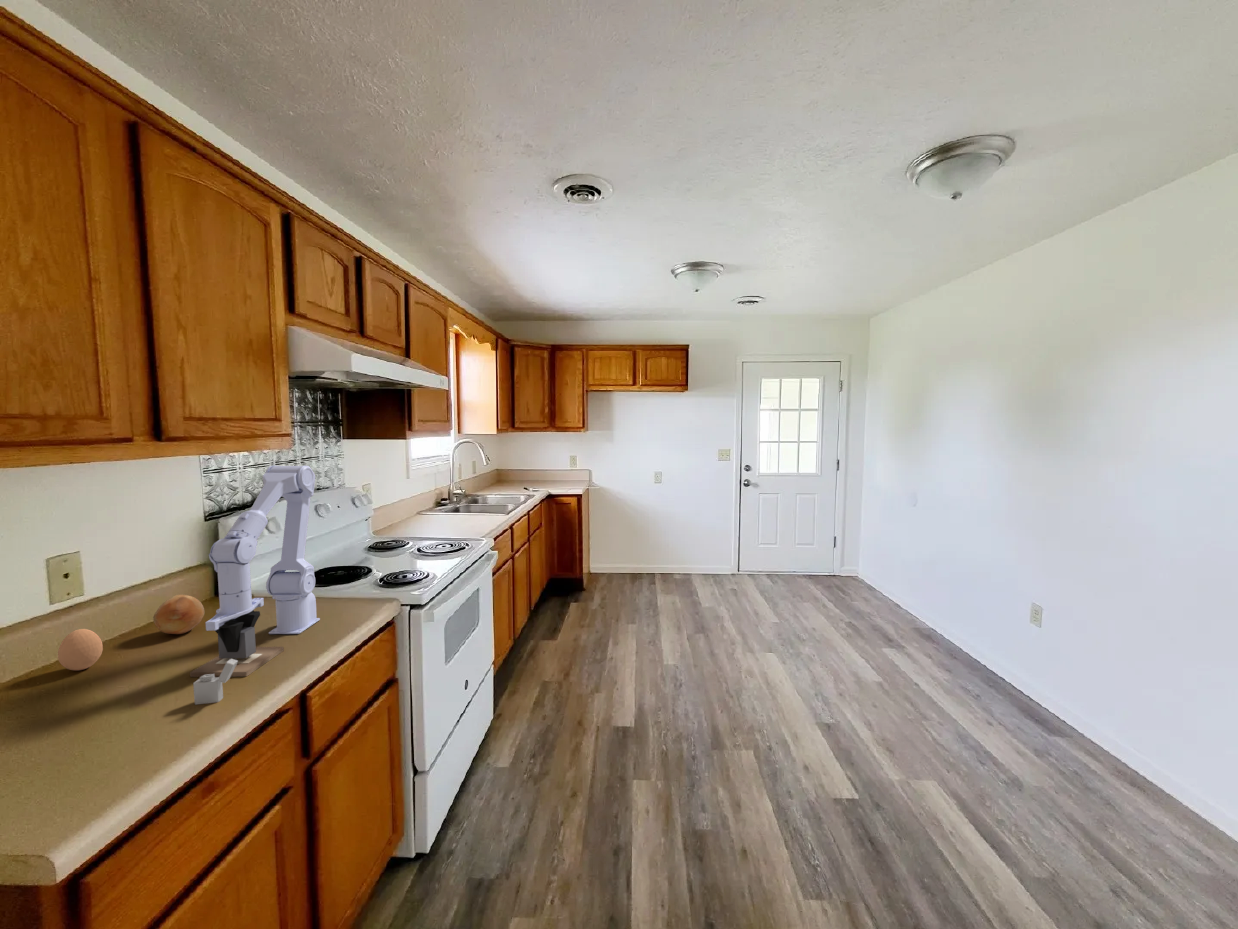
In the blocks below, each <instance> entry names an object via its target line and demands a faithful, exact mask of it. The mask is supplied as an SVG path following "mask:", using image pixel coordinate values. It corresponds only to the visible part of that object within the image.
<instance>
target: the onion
mask: <svg viewBox="0 0 1238 929" xmlns="http://www.w3.org/2000/svg"><path fill="white" fill-rule="evenodd" d="M204 616H205V608H204V605H203V604H202V601H200V600H199V599H198V598H196V597H194V596H192V595H188V594H180V593H179V594H175V595H174V596H171V597H169V598H168V599H167V600H164V602H162V603H161V605H160V606H159V607H158V608H157V610H156V611H155V612H154V614H153V617H152V618H153V619H152V620H153V621H152V622H153V623H154V625H155V627H156V628H157V629H158V630H159V631H160V632H162V633H165V634H170V635H184V634H185V633H188V632H190V631H191V630H193V629H194V628H195V627H196V626H198V625H199V624H200V623H201V621H202V620H203V618H204Z"/></svg>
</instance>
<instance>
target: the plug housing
mask: <svg viewBox="0 0 1238 929" xmlns="http://www.w3.org/2000/svg"><path fill="white" fill-rule="evenodd" d="M255 629H256V628H255V626H254V627H242V629H241V633H240V643H239V649H238V651H237V652H227V650H226V648H225V645H224V643H223V641H222V639H221V638H220V636H219V635H218V634H217V642H218V646H217V647H218V656H219V658H247V657H249V656H250V655H252V654H254V653H255V652H256V647H257V645H256V630H255Z"/></svg>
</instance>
